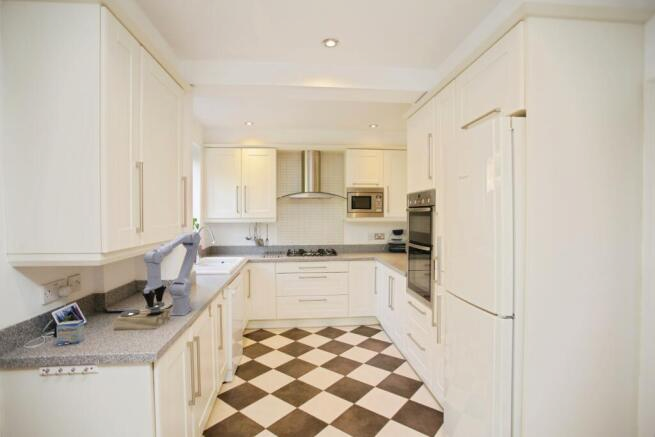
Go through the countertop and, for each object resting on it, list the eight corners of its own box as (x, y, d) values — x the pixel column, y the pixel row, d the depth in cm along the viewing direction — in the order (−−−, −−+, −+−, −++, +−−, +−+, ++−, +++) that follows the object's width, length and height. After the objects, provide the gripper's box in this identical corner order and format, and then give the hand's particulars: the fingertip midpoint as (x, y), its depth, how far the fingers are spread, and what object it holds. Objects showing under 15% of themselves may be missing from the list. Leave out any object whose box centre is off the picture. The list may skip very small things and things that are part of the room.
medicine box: (56, 346, 124) (55, 325, 124) (62, 341, 129) (62, 321, 128) (79, 343, 126) (78, 323, 126) (84, 339, 131) (84, 319, 130)
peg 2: (151, 311, 151) (151, 302, 151) (167, 311, 151) (167, 301, 151) (142, 317, 143) (141, 307, 143) (159, 316, 143) (159, 307, 143)
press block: (131, 319, 153) (131, 309, 153) (169, 318, 154) (169, 309, 153) (114, 329, 140) (113, 319, 140) (155, 329, 141) (155, 318, 140)
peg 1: (127, 319, 151) (127, 309, 151) (143, 318, 151) (143, 309, 151) (116, 325, 143) (116, 315, 143) (133, 324, 143) (133, 314, 143)
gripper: (154, 273, 153) (154, 299, 154) (136, 279, 139) (137, 309, 139) (168, 272, 154) (168, 299, 154) (152, 279, 139) (153, 308, 140)
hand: (155, 304), depth 147 cm, fingers open, 7 cm apart
